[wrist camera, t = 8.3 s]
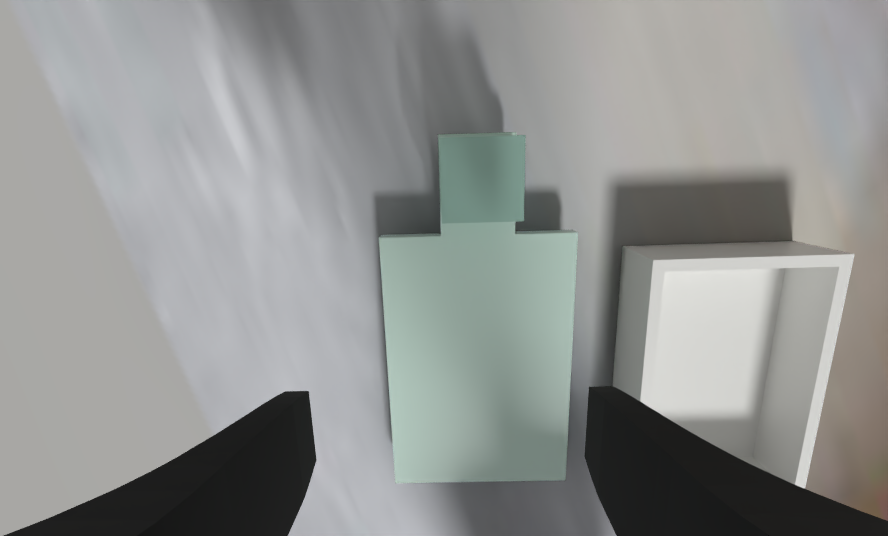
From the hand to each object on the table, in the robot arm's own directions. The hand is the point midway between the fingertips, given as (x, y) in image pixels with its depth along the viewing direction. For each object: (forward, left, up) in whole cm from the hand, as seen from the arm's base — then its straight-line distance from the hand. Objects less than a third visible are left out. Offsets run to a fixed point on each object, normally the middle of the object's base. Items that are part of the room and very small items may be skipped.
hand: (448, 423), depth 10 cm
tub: (-4, -12, -10) cm, 16 cm away
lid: (-1, -1, -10) cm, 10 cm away
